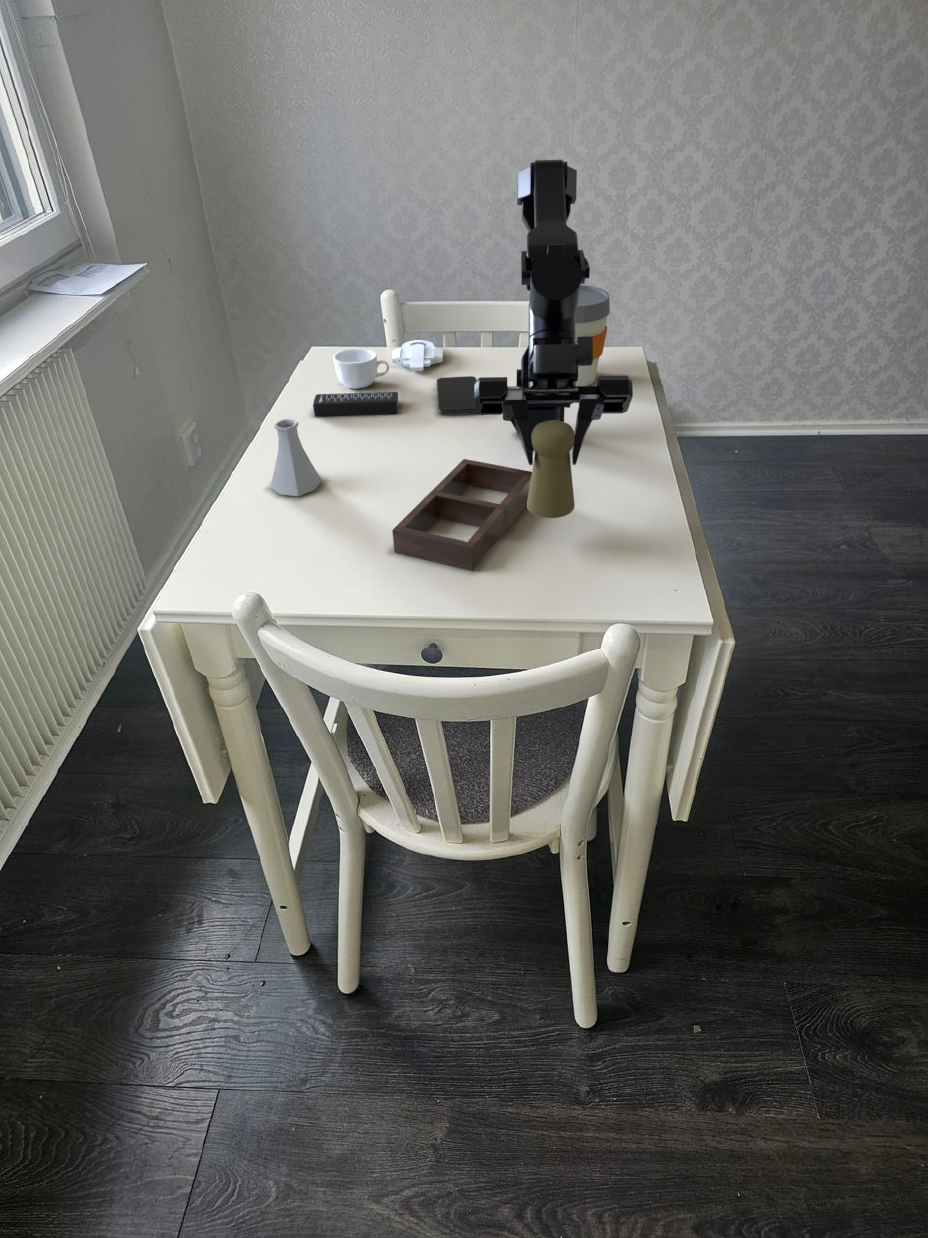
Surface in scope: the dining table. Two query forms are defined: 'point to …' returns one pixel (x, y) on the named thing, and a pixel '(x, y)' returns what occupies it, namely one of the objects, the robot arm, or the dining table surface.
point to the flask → (292, 463)
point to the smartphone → (456, 395)
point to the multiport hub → (356, 404)
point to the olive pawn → (551, 470)
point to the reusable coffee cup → (591, 327)
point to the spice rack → (463, 514)
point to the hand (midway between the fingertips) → (552, 463)
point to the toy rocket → (417, 355)
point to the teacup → (357, 367)
